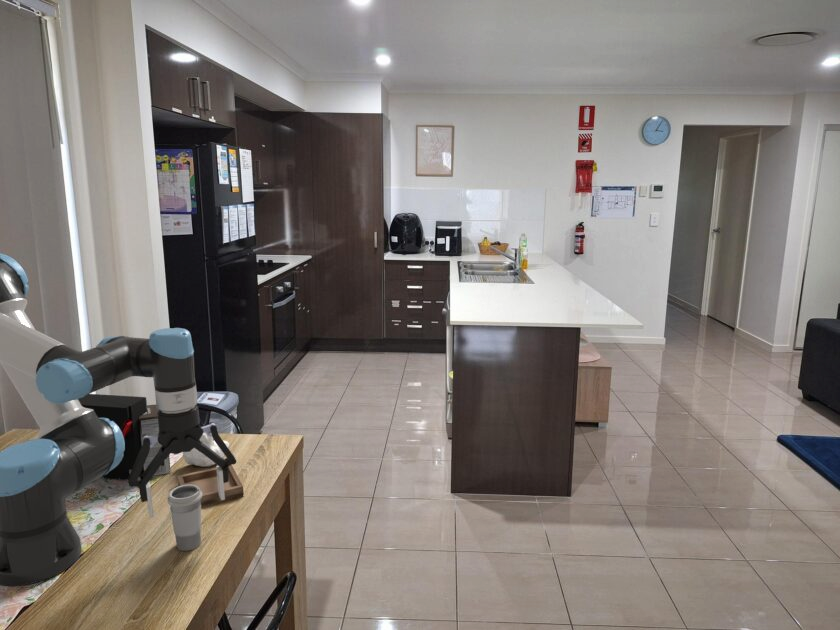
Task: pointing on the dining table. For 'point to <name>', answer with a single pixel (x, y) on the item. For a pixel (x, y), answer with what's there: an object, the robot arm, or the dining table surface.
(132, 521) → the dining table surface
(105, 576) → the dining table surface
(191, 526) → the cup
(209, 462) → the white lumpy piece
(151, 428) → the coffee box
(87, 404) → the electrical component
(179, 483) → the tray
